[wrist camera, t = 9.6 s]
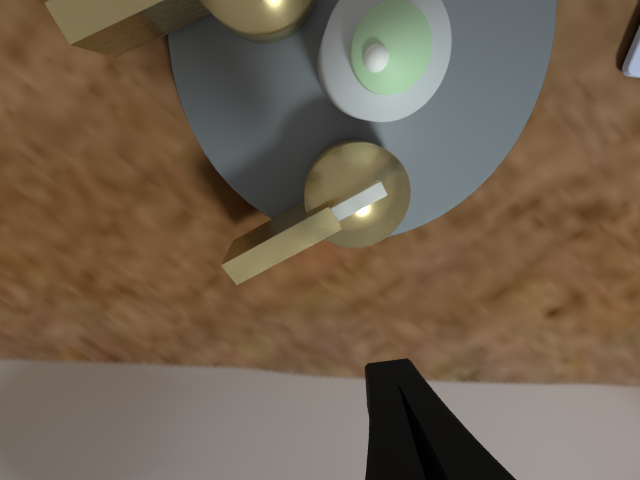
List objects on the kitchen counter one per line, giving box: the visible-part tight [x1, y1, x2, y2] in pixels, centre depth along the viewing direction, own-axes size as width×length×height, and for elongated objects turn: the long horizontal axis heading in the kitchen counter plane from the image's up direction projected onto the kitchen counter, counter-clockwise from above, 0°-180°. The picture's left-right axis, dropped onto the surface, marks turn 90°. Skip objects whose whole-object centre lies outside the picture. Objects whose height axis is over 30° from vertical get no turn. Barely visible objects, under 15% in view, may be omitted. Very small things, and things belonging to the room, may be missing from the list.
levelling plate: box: [168, 0, 557, 236], centre depth 12 cm, size 17×17×6 cm
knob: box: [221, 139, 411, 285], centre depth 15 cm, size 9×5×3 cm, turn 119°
